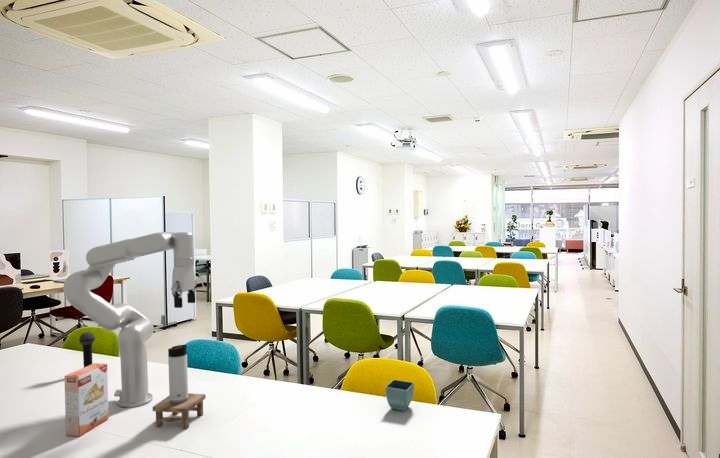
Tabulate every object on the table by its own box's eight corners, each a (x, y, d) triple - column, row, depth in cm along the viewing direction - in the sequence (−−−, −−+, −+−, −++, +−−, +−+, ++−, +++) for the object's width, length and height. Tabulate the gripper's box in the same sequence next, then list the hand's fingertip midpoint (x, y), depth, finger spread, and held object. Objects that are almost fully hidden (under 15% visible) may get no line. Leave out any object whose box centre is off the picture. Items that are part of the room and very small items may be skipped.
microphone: (77, 375, 217) (75, 333, 217) (88, 371, 224) (87, 330, 223) (87, 376, 216) (86, 334, 215) (99, 372, 222) (98, 330, 221)
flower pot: (415, 405, 177) (414, 382, 177) (407, 414, 169) (407, 390, 169) (393, 401, 181) (393, 379, 181) (385, 410, 173) (384, 387, 173)
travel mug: (182, 404, 163) (180, 348, 163) (166, 403, 165) (164, 347, 164) (192, 397, 169) (190, 343, 169) (176, 396, 171) (174, 342, 170)
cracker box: (80, 437, 156) (78, 376, 155) (65, 436, 157) (62, 375, 156) (110, 419, 170) (108, 362, 169) (95, 418, 171) (93, 362, 170)
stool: (153, 428, 162) (152, 406, 162) (174, 412, 175) (173, 392, 174) (187, 430, 160) (186, 408, 160) (206, 414, 173) (205, 394, 172)
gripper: (186, 260, 195) (187, 300, 195) (162, 265, 178) (164, 309, 178) (203, 260, 193) (204, 301, 194) (180, 265, 176) (182, 309, 177)
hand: (185, 305), depth 186 cm, fingers open, 9 cm apart
